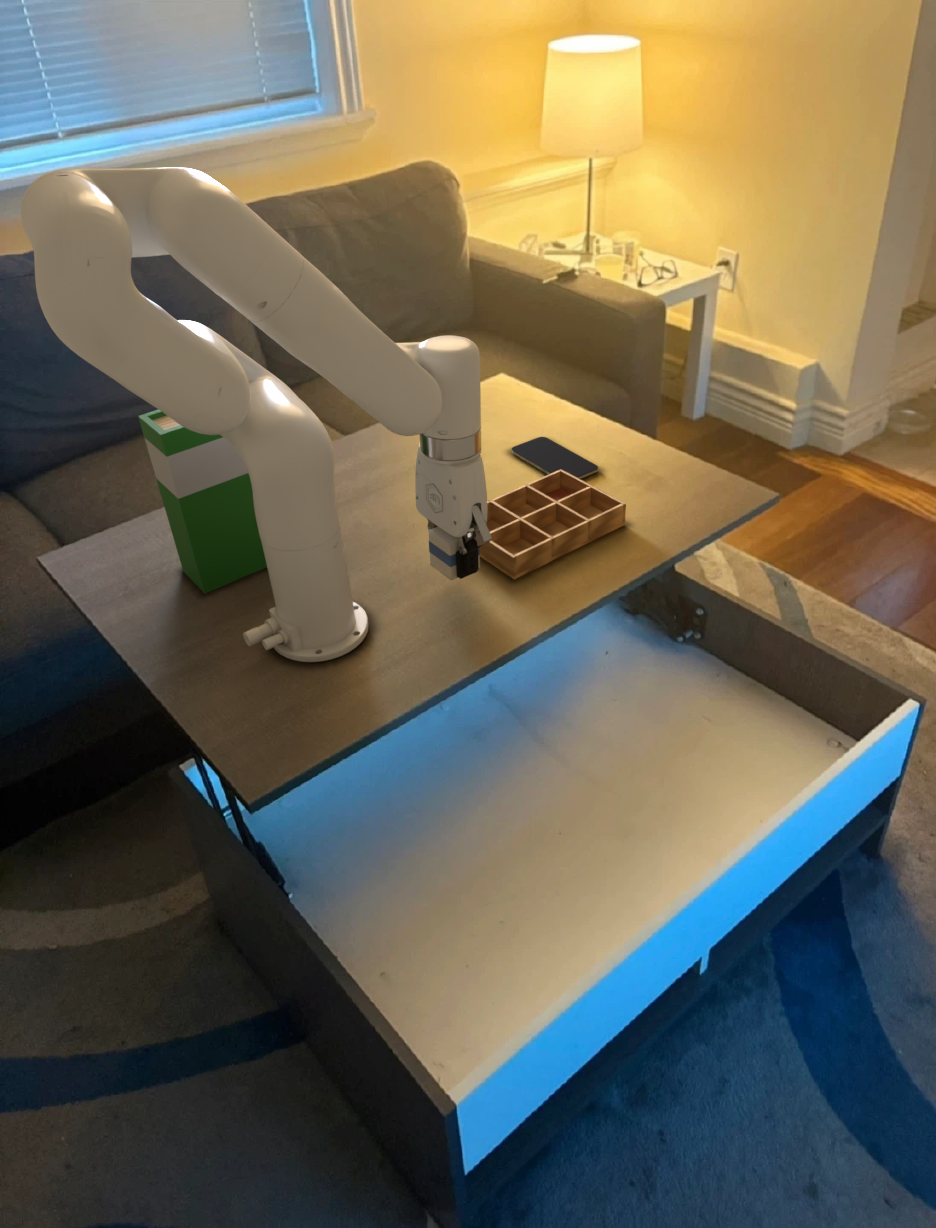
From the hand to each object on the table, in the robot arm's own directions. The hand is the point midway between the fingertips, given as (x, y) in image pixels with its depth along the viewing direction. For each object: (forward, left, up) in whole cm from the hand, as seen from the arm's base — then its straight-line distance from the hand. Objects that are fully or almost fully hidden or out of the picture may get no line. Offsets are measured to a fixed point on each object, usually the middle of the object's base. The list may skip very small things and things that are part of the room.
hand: (454, 564), depth 127 cm
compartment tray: (+17, +3, -4) cm, 18 cm away
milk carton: (0, 0, 0) cm, 0 cm away
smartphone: (+33, +17, -4) cm, 37 cm away
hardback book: (-18, +25, -4) cm, 32 cm away
